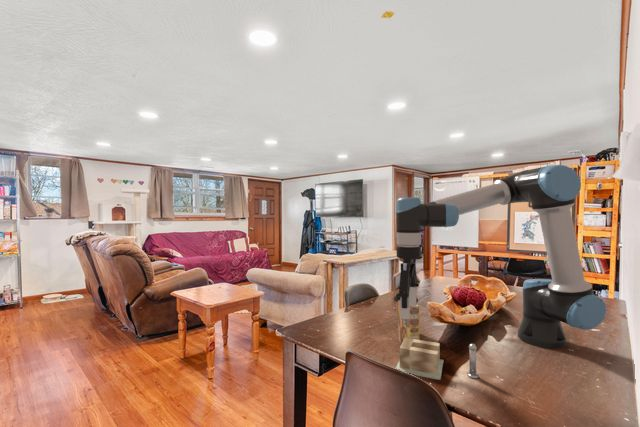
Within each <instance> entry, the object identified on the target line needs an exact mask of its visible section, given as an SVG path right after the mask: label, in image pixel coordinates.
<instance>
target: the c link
mask: <svg viewBox="0 0 640 427" xmlns="http://www.w3.org/2000/svg"><path fill="white" fill-rule="evenodd" d="M440 345H441V343H440V342H436V341H435V342H433V341H428V340H424V339H423V340H421V339H420V340H416V339H410V338H404V340H403V342H402V343H401V345H400V346H399V360H400V367H401V368H406V369H411V370H415V371H420V372H425V373H430V374H435V375H437V374H438V365H439V363H440V358H441V356H440V355H441V352H440V351H441V350H440V348H441V346H440Z"/></svg>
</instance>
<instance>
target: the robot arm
mask: <svg viewBox="0 0 640 427" xmlns="http://www.w3.org/2000/svg"><path fill="white" fill-rule="evenodd" d="M581 187H582V182H581V178H580V176H579V175H578V173H577V172H576V170H574V169H573V168H571V167H569V166H567V165H565V164H554V165H553V164H552V165H551V164H550V165H546V166H542V167H537V168H531V169H525V170H522V171H519V172H516V173H514V174H511V175H508V176H505V177H504V178H503V177H502V178H499V179H497V180H495V181H494V182H493V183H492V184H489V185H485V186H482V187H479V188H475V189H472V190H468V191H464V192H461V193H458V194H455V195H451V196H447V197H444V198H440V199H437V200H433V201H429V202H426V203H422V202H421V198H420V197H399V198H398V199H397V200H396V207H395V208H396V209H395V216H396V218H395V221H396V234H395V235H394V238H395V239H396V245H397V246H396V257H397V259H401V260H403V261H402V263H400V274H399V286H398V287H399V288H398V293H399V294H398V293H396V294H397V296H398V297H400V318H404V319H410V306H412V307H416V298H417V288H418V287H420V285H419V283H418V277H417V264H416V261H417V260H420V259H421V257H422V250H421V249H422V248H421V247H420V246H421V244H422V230H421V228H428V227H429V228H443V227H444V228H449V227H452V228H453V227H455V226H456V225H457V224H458V222H459V218H460V216H461V215H465V214H467V213H472V212H474V211H478V210H482V209H486V208H488V207H492V206H495V205H496V206H497V205H498V204H500V205H502V206H505V205H509V204H515V203H530V204H531V209H532V210H533V211H534V212H536V213H537V214H538V217H539V221H540V227H541V232H542V237H543V242H544V247H545V251H546V256H547V261H548V265H549V269H550V270H549V271H550V275H551V279H550V278H549V279H546V278H529V279H525V280H524V281H523V284H522V312H523V313H522V319H521V321H520V324H519V327H518V330H517V337H518V338H519V339H520V341H523V342H525V343H527V344H529V345H532V346H537V347H541V348H547V349H563V348H566V347H567V346H568V340H567V337H566V334H565V330H564V328H563V325H562V323H564V324H567V325H569V327H572V328H577V329H580V330H588V331H589V330H593V329H596V328H597V327H598V326H599V325H601V323H602V322H603V321H604V319H605V318H606V315H607V305H606V302H605V301H604V300H603V299H602V298H601V297H600V296H598V295H595V294H594V289H593V286H592V284H591V283H590V282H588V281H587V280H585V279H586V278H585V275H584V269H583V265H582V261H581V256H580V251H579V246H578V242H577V241H578V240H577V236H576V231H575V226H574V222H573V216H572V212H571V208H572V207H573V206H574V205H575V203H576V202H575V198H576V197H577V196H578V195H579V194H580V192H579V191H581V189H582V188H581Z"/></svg>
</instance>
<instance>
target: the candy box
mask: <svg viewBox="0 0 640 427" xmlns="http://www.w3.org/2000/svg"><path fill="white" fill-rule="evenodd" d="M398 321H399V329H398V341H399V342H400V343H401V344H402V342H403V340H404V338H410V339H416V340H421V339H420V338H421V337H420V306H419V305H418V304H417V305H416V307H412V306H410V319H404V318H400V300H399V301H398V320H397V322H398Z"/></svg>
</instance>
